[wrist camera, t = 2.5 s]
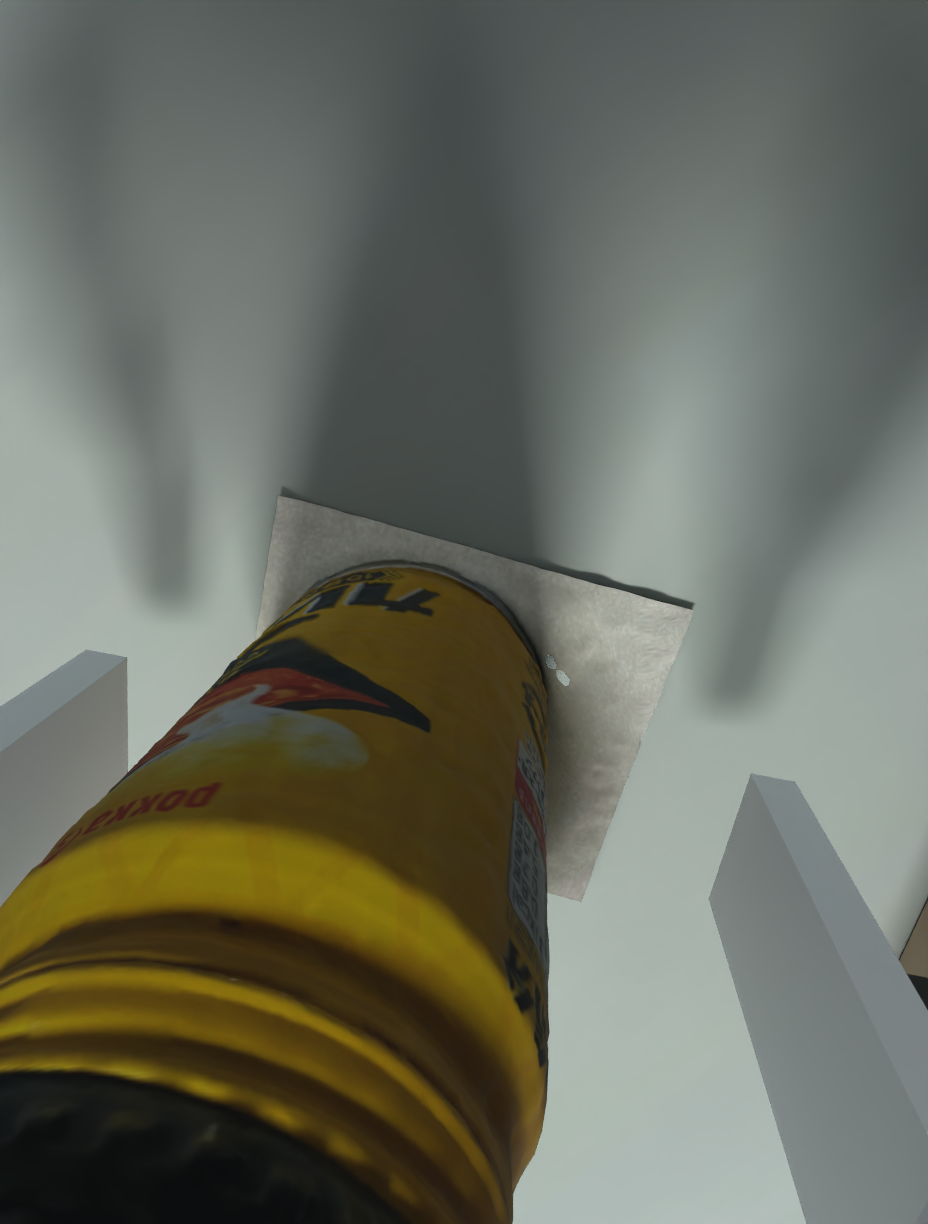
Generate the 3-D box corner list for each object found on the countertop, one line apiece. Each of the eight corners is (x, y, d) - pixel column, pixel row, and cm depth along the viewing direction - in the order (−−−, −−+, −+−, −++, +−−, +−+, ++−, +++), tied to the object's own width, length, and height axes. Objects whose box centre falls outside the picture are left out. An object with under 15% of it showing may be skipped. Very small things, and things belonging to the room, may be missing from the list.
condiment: (281, 493, 15) (-563, 967, 3) (693, 607, 15) (1185, 1465, 3) (229, 793, 17) (-353, 1625, 6) (580, 891, 17) (652, 1917, 6)
